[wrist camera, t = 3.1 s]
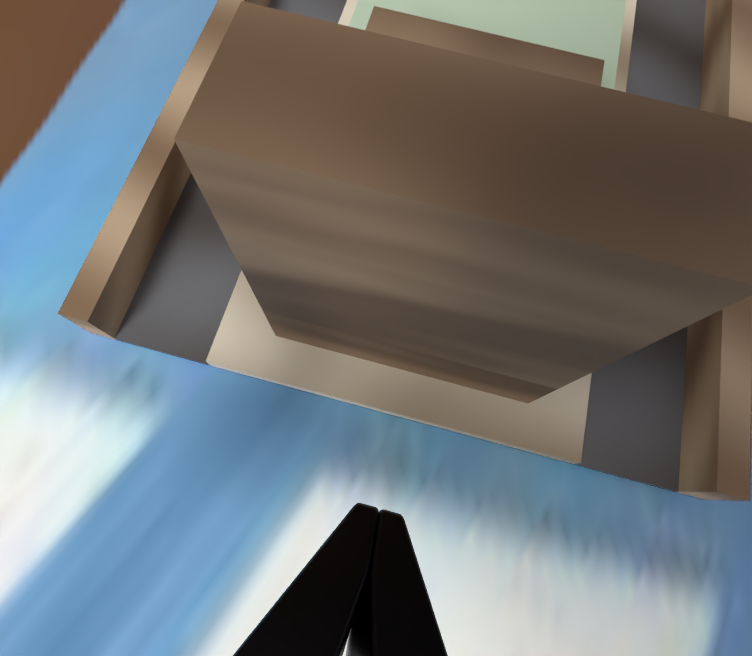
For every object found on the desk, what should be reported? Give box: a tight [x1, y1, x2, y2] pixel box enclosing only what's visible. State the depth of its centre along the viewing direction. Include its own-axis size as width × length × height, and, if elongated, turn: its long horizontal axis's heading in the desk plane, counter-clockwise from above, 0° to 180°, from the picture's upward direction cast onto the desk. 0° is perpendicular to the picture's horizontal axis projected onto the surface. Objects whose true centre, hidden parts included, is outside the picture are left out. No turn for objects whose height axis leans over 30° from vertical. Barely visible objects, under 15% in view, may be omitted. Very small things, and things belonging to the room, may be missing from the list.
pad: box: [349, 0, 626, 89], centre depth 22 cm, size 9×12×1 cm
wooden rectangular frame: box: [58, 0, 752, 501], centre depth 19 cm, size 25×22×3 cm
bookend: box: [174, 1, 752, 403], centre depth 14 cm, size 13×9×10 cm
